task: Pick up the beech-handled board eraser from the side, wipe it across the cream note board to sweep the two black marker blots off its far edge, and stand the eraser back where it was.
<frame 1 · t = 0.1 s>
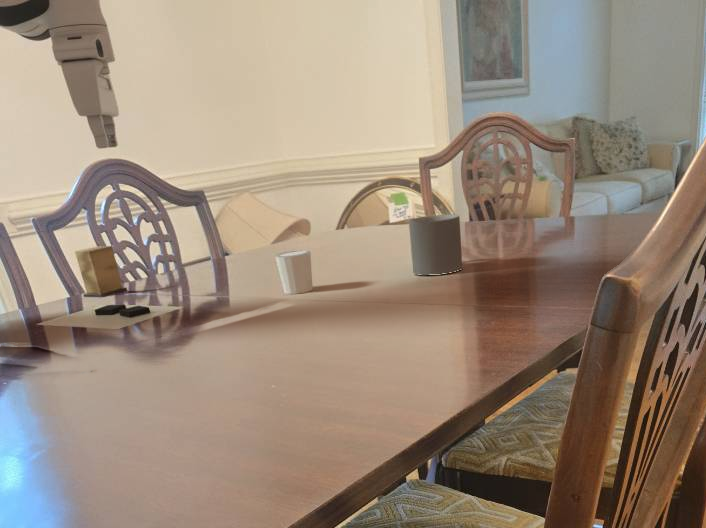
hand: (108, 147, 129), 28 cm above the table, tool pointing down, fingers open, 8 cm apart
smudge a: (111, 312, 144), point 1 cm above the table, touching note board
coffee mug: (438, 270, 157), on the table
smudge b: (135, 314, 140), point 1 cm above the table, touching note board
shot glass: (298, 291, 151), on the table
eraser: (106, 297, 164), on the table
note board: (111, 321, 142), on the table
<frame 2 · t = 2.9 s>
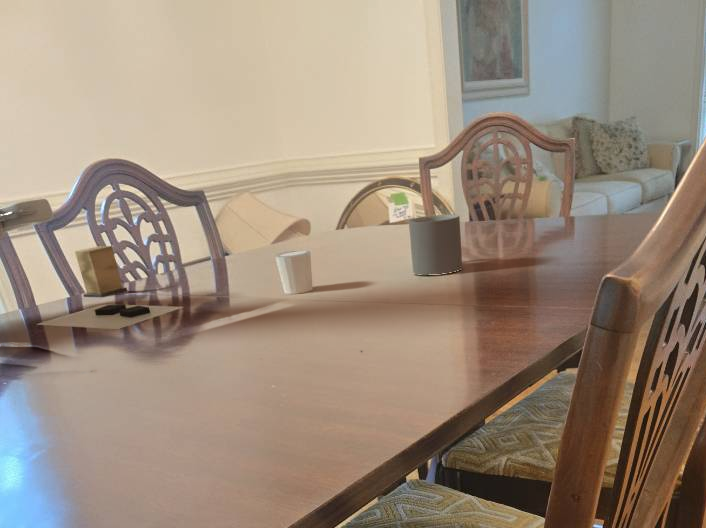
hand: (27, 217, 148), 18 cm above the table, tool horizontal, fingers open, 8 cm apart
nothing on the table moved.
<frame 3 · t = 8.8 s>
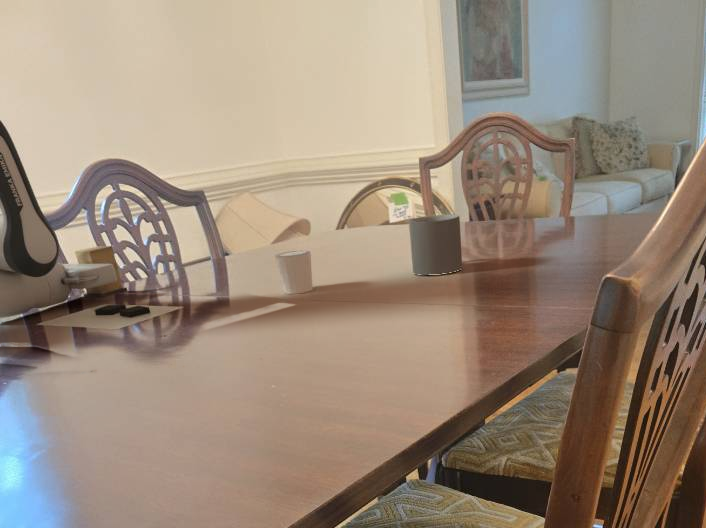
hand: (102, 267, 162), 6 cm above the table, tool horizontal, fingers closed on eraser, 4 cm apart
eraser: (106, 297, 164), on the table, touching gripper
everything else where it was.
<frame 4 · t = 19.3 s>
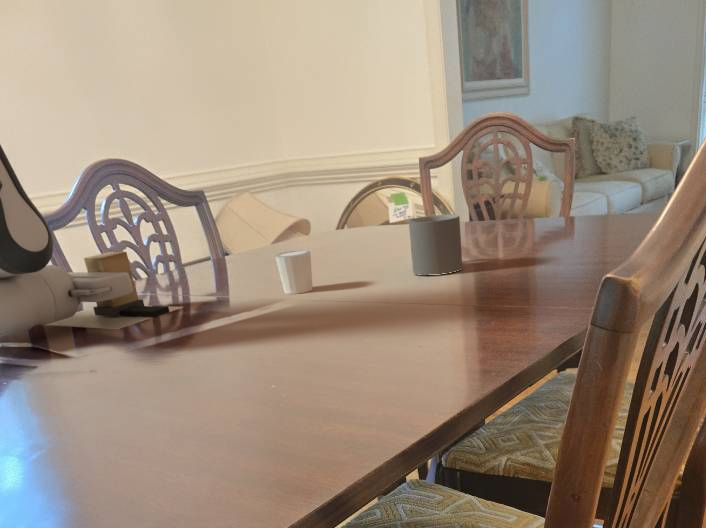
hand: (115, 276, 140), 7 cm above the table, tool horizontal, fingers closed on eraser, 4 cm apart
smudge a: (137, 314, 140), point 1 cm above the table, touching eraser, note board, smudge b
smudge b: (153, 314, 138), point 1 cm above the table, touching note board, smudge a
eraser: (120, 311, 143), point 1 cm above the table, touching gripper, smudge a
everything else where it was.
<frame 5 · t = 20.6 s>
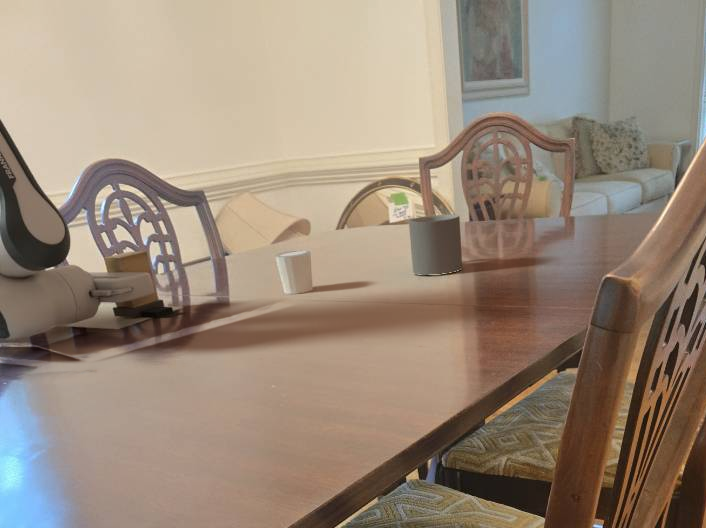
hand: (134, 276, 138), 7 cm above the table, tool horizontal, fingers closed on eraser, 4 cm apart
smudge a: (157, 314, 138), point 1 cm above the table, touching eraser
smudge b: (171, 320, 137), on the table
eraser: (139, 312, 140), point 1 cm above the table, touching gripper, smudge a
everything else where it was.
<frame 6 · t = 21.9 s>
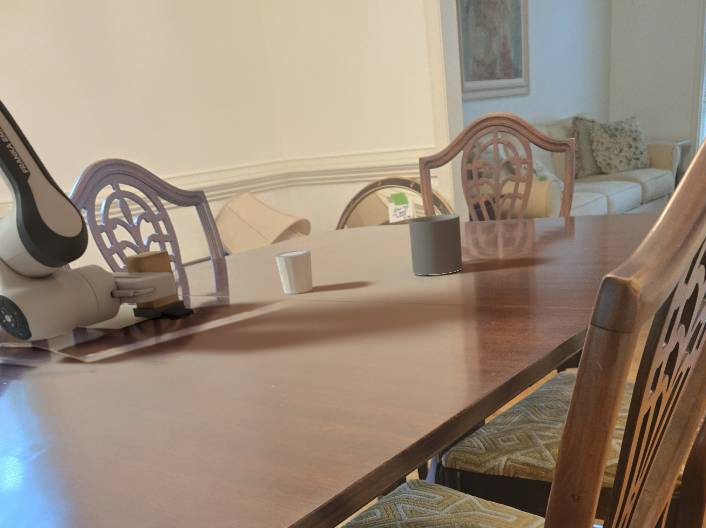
hand: (155, 276, 135), 7 cm above the table, tool horizontal, fingers closed on eraser, 4 cm apart
smudge a: (178, 316, 135), point 1 cm above the table, tilted 5°, touching eraser
eraser: (160, 312, 138), point 1 cm above the table, touching gripper, smudge a
everything else where it was.
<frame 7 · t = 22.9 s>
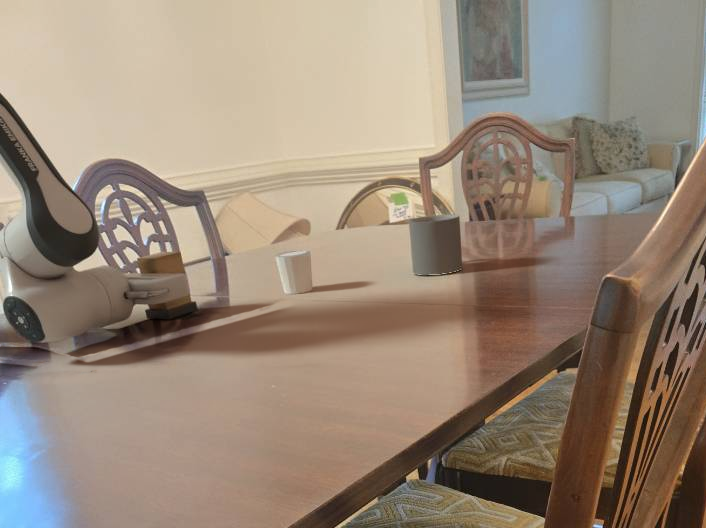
hand: (167, 277, 134), 7 cm above the table, tool horizontal, fingers closed on eraser, 4 cm apart
smudge a: (189, 321, 135), on the table
eraser: (172, 314, 136), point 1 cm above the table, touching gripper
everything else where it was.
when the fingers open (6 cm above the table, at t = 33.1 s): eraser stays where it is, on the table.
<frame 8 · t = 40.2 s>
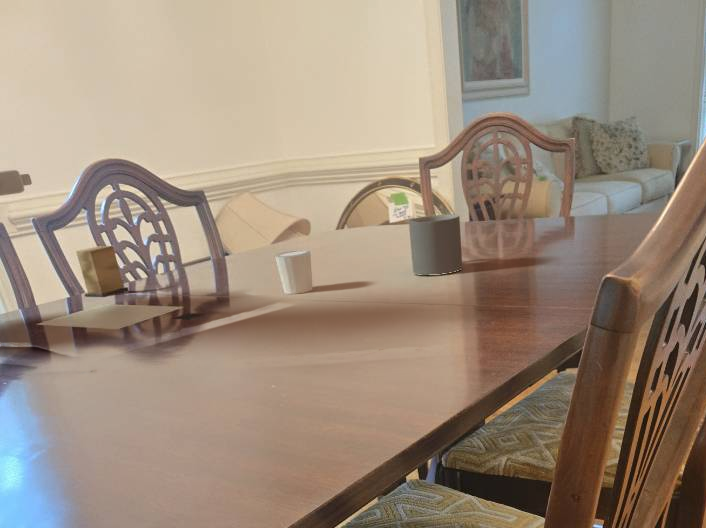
hand: (12, 180, 142), 24 cm above the table, tool horizontal, fingers open, 8 cm apart
eraser: (108, 297, 164), on the table
everything else where it was.
at the end: smudge a touching table; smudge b touching table; eraser tilted 0° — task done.
